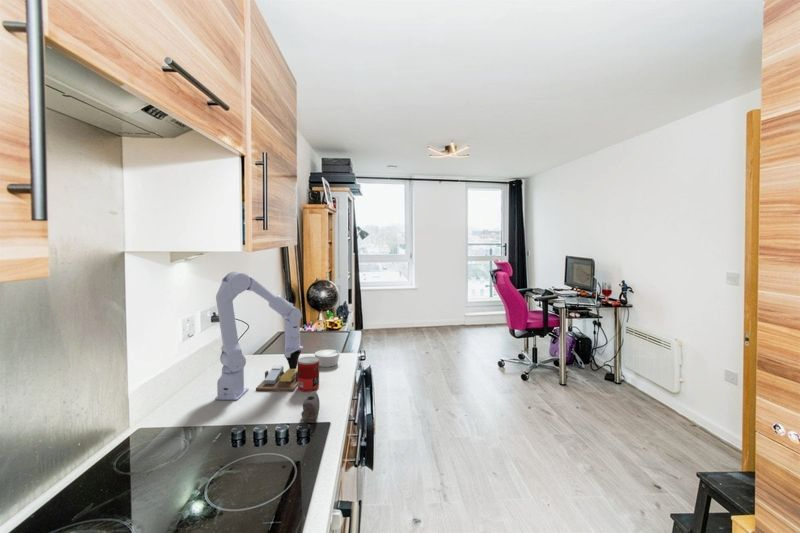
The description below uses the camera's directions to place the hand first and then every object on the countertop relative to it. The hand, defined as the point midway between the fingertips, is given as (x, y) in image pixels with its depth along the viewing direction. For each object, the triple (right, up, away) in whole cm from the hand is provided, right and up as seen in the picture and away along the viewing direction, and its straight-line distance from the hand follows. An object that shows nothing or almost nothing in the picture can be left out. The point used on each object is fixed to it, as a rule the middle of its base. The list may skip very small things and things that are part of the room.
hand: (293, 369), depth 146 cm
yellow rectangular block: (0, -1, -5) cm, 5 cm away
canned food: (+9, -5, -9) cm, 13 cm away
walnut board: (-3, -4, -4) cm, 7 cm away
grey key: (-6, -1, -5) cm, 8 cm away
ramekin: (+10, -3, +18) cm, 21 cm away
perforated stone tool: (+15, -6, -31) cm, 35 cm away
